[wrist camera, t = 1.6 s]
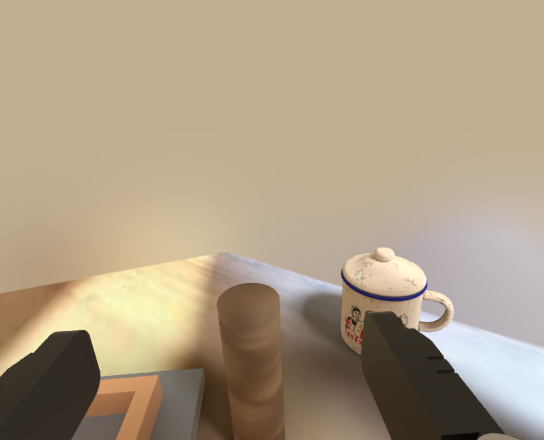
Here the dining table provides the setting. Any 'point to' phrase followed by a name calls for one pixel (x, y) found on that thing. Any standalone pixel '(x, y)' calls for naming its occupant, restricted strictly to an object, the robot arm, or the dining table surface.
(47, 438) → the robot arm
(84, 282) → the dining table surface
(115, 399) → the collar base
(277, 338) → the walnut peg
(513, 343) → the dining table surface
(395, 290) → the teacup with lid
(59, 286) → the dining table surface
